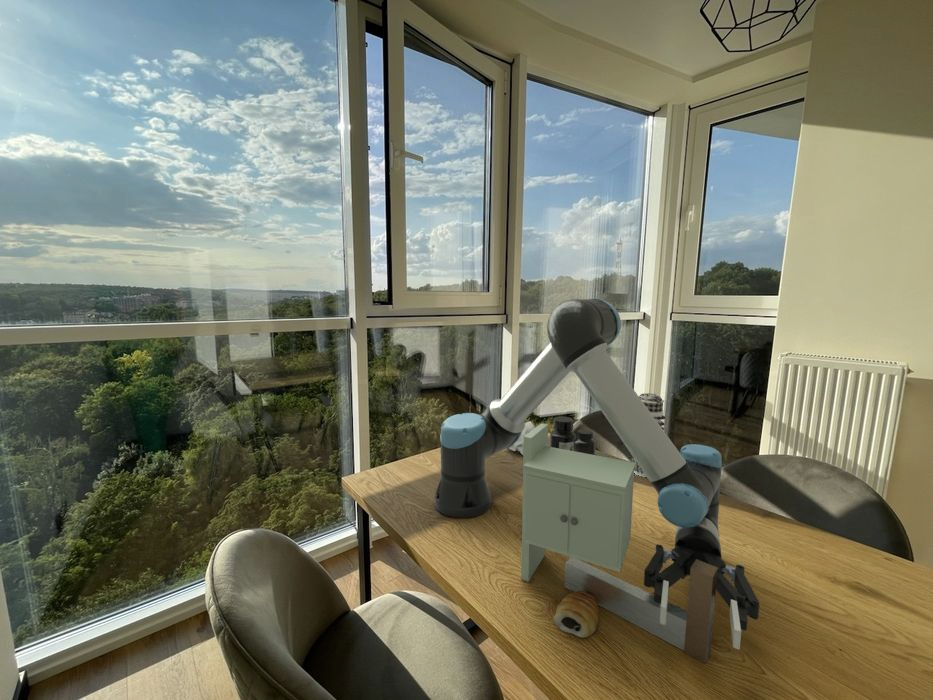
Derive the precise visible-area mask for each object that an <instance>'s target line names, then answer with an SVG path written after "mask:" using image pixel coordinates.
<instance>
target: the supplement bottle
mask: <svg viewBox="0 0 933 700" xmlns="http://www.w3.org/2000/svg"><path fill="white" fill-rule="evenodd" d="M593 435H594V433H593V431H592V430H588V429H578V430H577V432H576V439H575V440H574V448H573V451H575V452H580V453H586V454H591V455H596V446H597V445H596V442H595V440H594V439H593V438H594V436H593Z"/></svg>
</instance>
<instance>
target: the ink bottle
mask: <svg viewBox="0 0 933 700" xmlns="http://www.w3.org/2000/svg"><path fill="white" fill-rule="evenodd" d="M549 435H550V437H549V447H553V448H559V449H564V450H569V451H573V448H574V440H575V439H576V438H577V434H576V433H575V432H574V419H573V418H571V417H569V416H556V417H555V416H554V418H553V431H551V432H550V434H549Z"/></svg>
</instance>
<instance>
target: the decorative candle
mask: <svg viewBox="0 0 933 700" xmlns="http://www.w3.org/2000/svg"><path fill="white" fill-rule="evenodd" d="M638 396H639V398H640V399H641V400H642V402H643V403H644V404H645V406H646V407H647V409H648V410H649V411H650V413H651V414H652V415H653V417H654V418H655V420H656V421H657V422H658V424H659V425H660V426H661V428H662V429H663V431H664V430H665V427H663V426H664V425H665V422H663V421H664V420H665V419H666V416H665V415H664V414H665V413H664V410H663V408H664V402H665V400H664V399H662V397H661V396H660V395H658V394H656V393H647V392H646V393H641V394H639V395H638ZM631 457H632V458H631V462H634V463H636V467H635V470H634V473H635V474H634V475H635V476H638V475H639V476H638V477H641V476H642V477H641V478H645V477H647V476H646V475H645V473H644V472H643V470H642V469H641V467H640V466H639V465H638V463H637V462H636V460H635V459H634V457H633V456H632V455H631Z"/></svg>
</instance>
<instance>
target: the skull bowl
mask: <svg viewBox="0 0 933 700" xmlns="http://www.w3.org/2000/svg"><path fill="white" fill-rule="evenodd" d="M534 428H536V426H535V425H534V424H533V422H532V421H527V422H525V427H524V429H523V431H522V432H521V435H520V438H519V439H518V440H517V442H515V443H514V444H513V445H512V446H511V447H509V448H508V449H509V450H511V451H513V452H517V451H519V453H520V454H521V455H522V456H523V447H524V436H525V435H526V434H528V433H529V432H530V431H532V430H533V429H534Z"/></svg>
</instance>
